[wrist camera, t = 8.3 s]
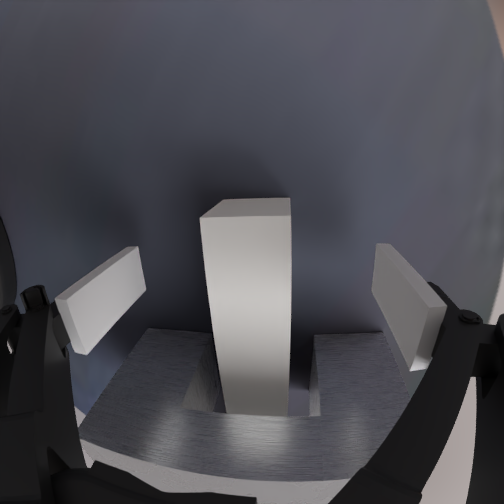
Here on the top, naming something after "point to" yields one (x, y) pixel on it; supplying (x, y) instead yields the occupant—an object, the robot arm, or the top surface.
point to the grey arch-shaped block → (244, 420)
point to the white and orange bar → (250, 301)
